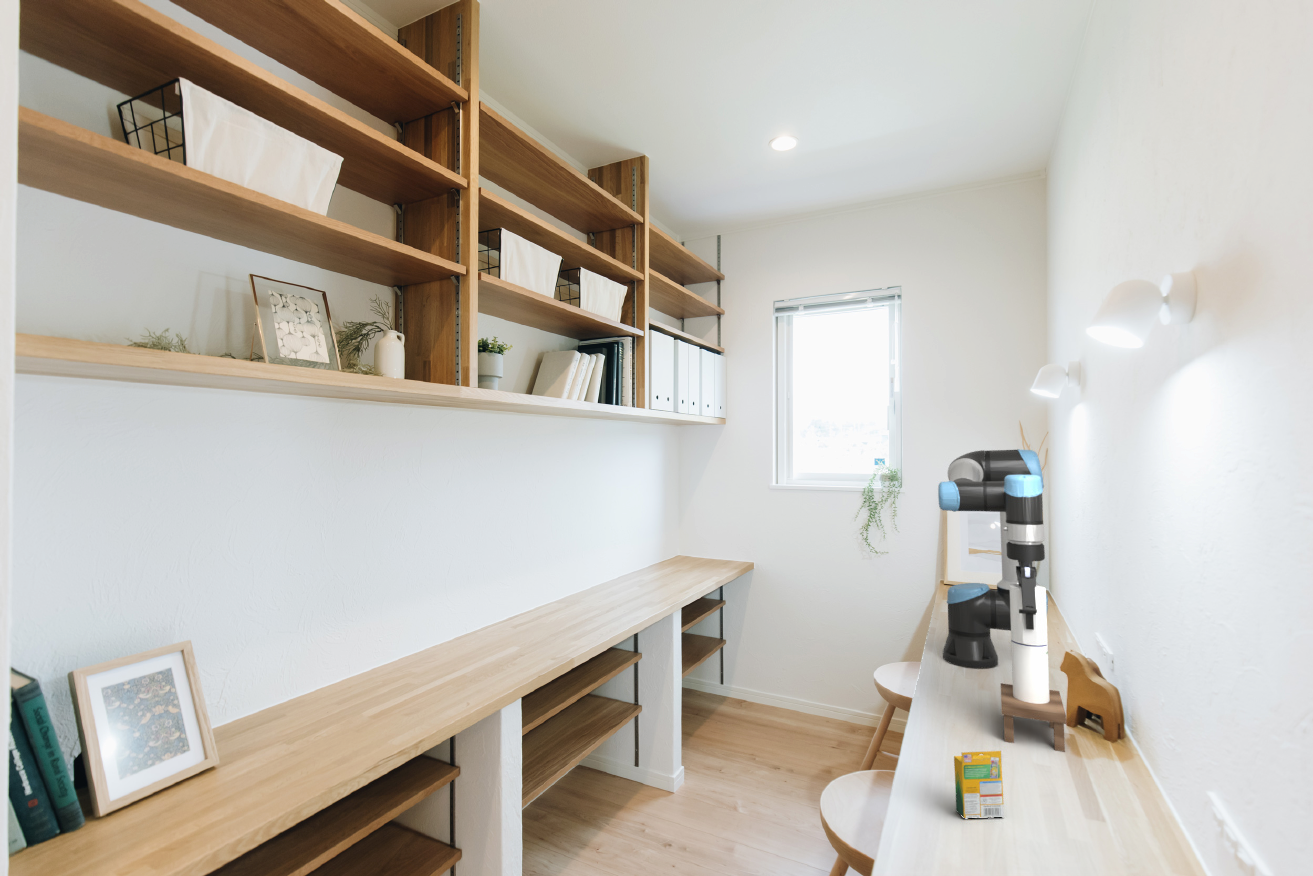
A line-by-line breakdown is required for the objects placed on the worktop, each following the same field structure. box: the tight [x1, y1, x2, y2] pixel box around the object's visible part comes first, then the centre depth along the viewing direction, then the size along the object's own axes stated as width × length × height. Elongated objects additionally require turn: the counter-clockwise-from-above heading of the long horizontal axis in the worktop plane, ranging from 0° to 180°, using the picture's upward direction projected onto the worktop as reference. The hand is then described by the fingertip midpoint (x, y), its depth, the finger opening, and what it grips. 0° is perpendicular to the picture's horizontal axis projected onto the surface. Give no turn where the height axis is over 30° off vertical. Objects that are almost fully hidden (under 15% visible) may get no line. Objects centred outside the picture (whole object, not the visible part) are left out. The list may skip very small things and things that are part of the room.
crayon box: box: [953, 750, 1005, 818], centre depth 111 cm, size 7×3×12 cm, turn 92°
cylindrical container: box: [1010, 584, 1050, 704], centre depth 143 cm, size 7×7×25 cm
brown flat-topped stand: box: [1000, 682, 1067, 753], centre depth 142 cm, size 15×12×8 cm
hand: (1028, 635), depth 143 cm, fingers open, 13 cm apart
